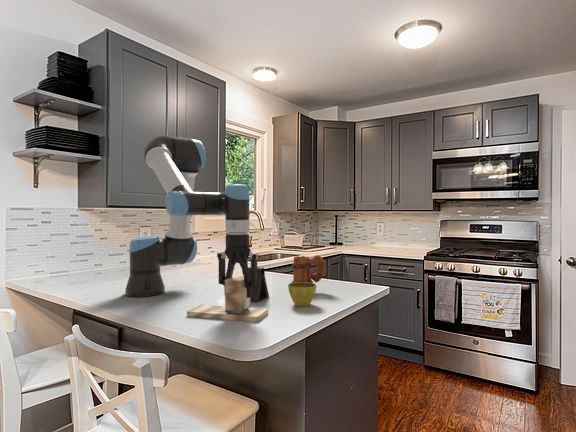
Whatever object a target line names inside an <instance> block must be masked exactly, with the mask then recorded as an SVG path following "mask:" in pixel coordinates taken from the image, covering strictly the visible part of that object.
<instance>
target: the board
mask: <svg viewBox="0 0 576 432" xmlns="http://www.w3.org/2000/svg"><path fill="white" fill-rule="evenodd" d="M268 314H269V309H268V308H256V307H255V308H254V307H250V308H248V309H247V310H245V311H244V312H242V313H241V314H239V313H225V305H216V304H215V305H213V304H200V305H197V306H196V307H193V308H192V309H189V310H187V311H186V317H193V318H203V319H204V318H205V319H217V320H225V321H227V320H228V321H241V322H253V323H254V322H255V323H259V322H260V321H261V320H262V319H264V318H265V317H266V316H267V315H268Z"/></svg>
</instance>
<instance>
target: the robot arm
mask: <svg viewBox="0 0 576 432" xmlns="http://www.w3.org/2000/svg"><path fill="white" fill-rule="evenodd" d="M206 156H207V153H206V149H205V146H204V144H203V143H202V141H200V140H198V139H193V138H187V137H179V136H178V137H177V136H169V135H159V136H156V137H154V138H152V139H150V140H149V141H148V143H146V145H145V147H144V149H143V158H144V159H143V160H144V161H145V163H146V165H147V166H148V167H149V168H150V169H152V170H153V172H154V173H155V175H156V176H157V179H158V180H159V182H160V183H161V184H160V185H161V186H162V187H163V190H164V191H165V192H166V196H165V203H164V204H165V208H166V210H165V211H166V212H167V214H169V215H170V217H169V228H168V230H167V231H166V232H164V238H163V237H161V236H160V235H156V234H154V235H147V236H141V237H140V236H139V237H136V238H133V239H131V240H130V242H129V250H128V253H129V278H128V280H127V284H126V287H125V292H124V294H125V296H126V295H127V297H130V296H131V297H132V298H143V297H152V296H157V295H160V294H161V295H163V294H164V293H165V292H166V286H165V283H164V281H163V276H162V275H161V267H164V266H174V265H175V266H176V265H182V266H183V265H184V264H190V263H191V262H193V261H194V259H195V258H196V256H197V253H198V241H197V239H196V238H195V237H194V234H193V233H192V232H191V224H192V223H191V222H192V216H225V217H224V218H225V233H226V235H225V250H224V251H222V252H218V253H216V257H217V259H218V284H219V285H222V286H223V287H224V291H223V292H225V280H226V279H229V278H231V277H233V274H234V270H235V266H236V264H239V266H240V268H241V271H242V276H244V280H245V284H246V286H245V287H244V309H247V308H248V307H249V298H250V297H252V286H254V285H256V284H258V272H257V267H258V259H259V256H260V253H257V252H256V253H255V252H252V250H251V249H250V243H251V242H250V234H249V233H250V231H251V230H250V189H249V187H248V185H246V184H227V185H226V186H225V187H224V192H207V191H206V192H203V191H194V190H195V181H196V180H195V179H196V178H195V177H196V176H197V175H199V173H200V169H203V168H204V167H205V164H206V161H207V157H206ZM226 257H227V259H228V260H227V268H226ZM249 257H250V258H249ZM248 258H249V259H250V267H251V276H250V272H249V268H248V267H249V265H248V264H249V262H248ZM226 269H227V270H226Z"/></svg>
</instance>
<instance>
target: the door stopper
mask: <svg viewBox="0 0 576 432" xmlns="http://www.w3.org/2000/svg"><path fill="white" fill-rule="evenodd" d="M248 268H249V272H250V276H251V266H248ZM257 272H258V284H256V285H254V286H252V297H250V303H251V302H253V303H259V302H261V301H263V300H266V299H268V298H269V297H270V294H269V289H268V285H267V284H268V283H267V279H266V275H265V274H266V273H265V272H266V270H265V268H264V267H261V266H260V267H258V266H257Z"/></svg>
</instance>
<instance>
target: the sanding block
mask: <svg viewBox="0 0 576 432" xmlns="http://www.w3.org/2000/svg"><path fill="white" fill-rule="evenodd" d="M245 286H246V284H245V280H244V276H243V275H234V276H232V277H231V278H229V279H226V280H225V291H224V299H225V300H224V302H225V303H224V304H225V305H224V306H225V313H239V314H241V313H242V312H244V311H245V310H247V309H248V308H251V301H250V298H249V307H248V308H247V309H244V287H245Z"/></svg>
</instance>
